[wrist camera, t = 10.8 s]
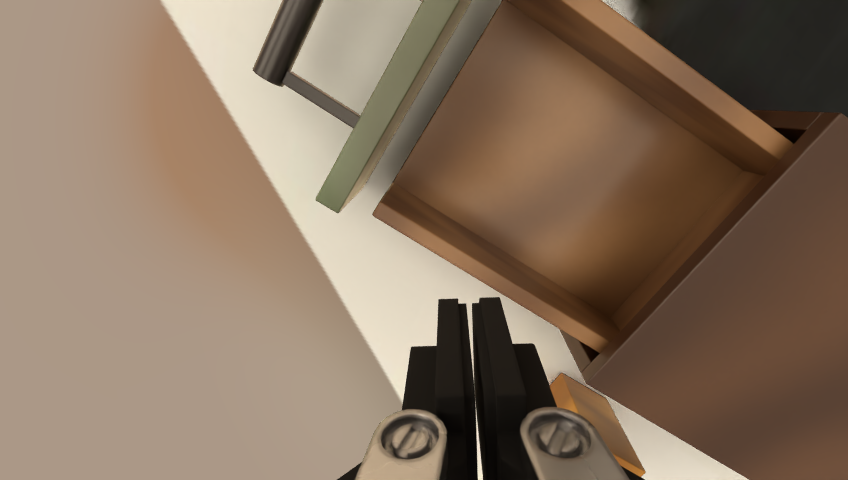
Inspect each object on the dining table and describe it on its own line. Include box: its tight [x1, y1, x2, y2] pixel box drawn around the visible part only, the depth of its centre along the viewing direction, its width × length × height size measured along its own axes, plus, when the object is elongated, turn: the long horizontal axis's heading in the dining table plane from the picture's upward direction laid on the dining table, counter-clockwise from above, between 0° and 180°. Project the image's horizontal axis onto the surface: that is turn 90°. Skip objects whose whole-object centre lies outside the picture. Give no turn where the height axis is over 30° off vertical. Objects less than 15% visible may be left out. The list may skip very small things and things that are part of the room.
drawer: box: [253, 0, 794, 353], centre depth 20 cm, size 24×13×6 cm, turn 58°
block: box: [550, 373, 645, 477], centre depth 26 cm, size 4×4×6 cm
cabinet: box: [560, 110, 848, 480], centre depth 22 cm, size 20×15×8 cm
